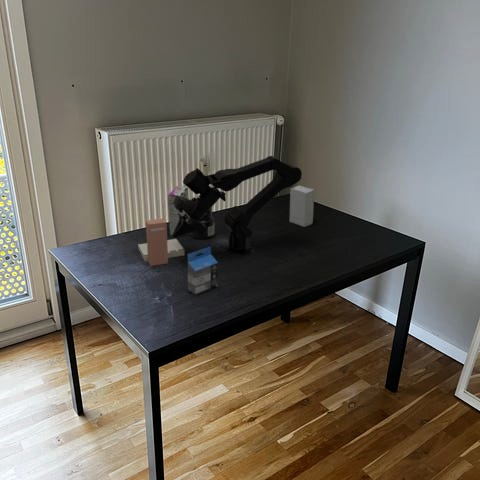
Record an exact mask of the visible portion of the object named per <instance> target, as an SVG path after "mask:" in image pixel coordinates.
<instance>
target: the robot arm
mask: <svg viewBox="0 0 480 480" xmlns="http://www.w3.org/2000/svg"><path fill="white" fill-rule="evenodd" d="M271 171H275V174H274V176H273V179H272V180H271V181H270V182H269V183H268V184H267V185H265V186H264V187H263V188H262V189H261V190H260V191H259V192H258V193H257V194H255V195H254V196H253V197H251V199H250V200H249V201H248V202H246V203H245V205H243V206H241V207H238V206H237V205H235V206H233V207H232V209H230V210H229V211H227V212H226V214H225V217H224V225H225V226H226V227H227V228H228V229H229V231H230V234H229V236H228V246H229V247H228V248H227V251H230V252H233V253H237V254H241V255H244V254H246V253H247V252H248V251H249V250H250V249H251V248H252V246H251V245H250V238H251V237H252V235H253V231H252V230H251V229H250V228H249V226H250V223H251V221H252V219H253V217H254V216H255V215H256V214H257V213H258V212H260V211H261V209H262V208H264V207H265V206H266V205H268V203H270V202H271V200H273V199H274V198H275V197H276V196H277V195H279V193H280V192H282V191H283V190H284V189H288V188H291V187H293V186H294V185H296V184H297V183H299V182H300V181H301V179H302V175H303V173H302V170H301V168H299V167H297V166H296V165H294V164H292V163H290V162H283V161H281V160H280V159H279V158H277V157H276V156H274V155H269V156H266V157H265V158H263V159H260V160H257V161H254V162H251V163H249V164H247V165H246V164H245V165H243V166H240V167H237V168H226V169H225V168H224V169H220V170H217V171H216V172H215V173H213V174H208V175H205V174H204V173H203V172H202V171H201V169H200V168H198V167H197V168H195V169H194V170H191V171H190V172H189V173H187V174H186V175H185V176H184V178H183V181H182V183H183V185H184V186H185V187H188V190H190V191H192V192H193V193H194V194H195V195H198V196H197V197H191V199H187V198H184V197H181V196H178V195H176V198H175V200H174V202H173V204H174V205H175V206H174V207H175V208H176V209H177V210H179V211H180V212H181V214H179V213H178V216H179V221H178V224H177V226H176V228H175V230H174V232H173V234H172V235H171V237H173V239H177V238H178V237H182V236H184V235H186V234H188V233H191V231H197V232H199V233H200V234H201V235H202V236H203V235H204V234H205V233H206V232H207V228H206V227H205V225H204V224H203V223H201V222H202V220H201V218H202V217H203V216H204V215H205V214H206V213H208V214H209V213H210V211H209V210H210V207H212V208H213V206H215V204H216V203H218V201H219V199H221V200H222V202H226V200H227V199H226V192H230V191H232V190H234V189H235V188H237V187H239V186H240V184H242V182H245V181H247V180H249V179H252V178H254V177H258V176H260V175H264V174H265V173H268V172H271ZM210 185H211V186H210ZM219 189H220V190H222V191H220V190H219ZM209 206H210V207H209ZM181 235H182V236H181Z"/></svg>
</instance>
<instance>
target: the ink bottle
mask: <svg viewBox="0 0 480 480" xmlns="http://www.w3.org/2000/svg"><path fill="white" fill-rule="evenodd" d="M209 207H210V206H209ZM209 211H210V213H209V214H208V213H206V214H205V215H204V216H203V217H202V218H201V220H202V222H201V223H203V224H204V225H205V227H206V228H207V232H206V233H205V234H204V235H203V236H202V235H201V234H200V233H199V232H197V231H191V232H190V234H191V236H192V237H193V238H195V239H199V240H206V239H212V238H213V237H214V236H215V218H214V217H213V215H212V213H213V206H212V207H210V210H209Z"/></svg>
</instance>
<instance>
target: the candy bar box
mask: <svg viewBox="0 0 480 480" xmlns="http://www.w3.org/2000/svg"><path fill="white" fill-rule="evenodd" d="M189 192H190V191H189V188H188V187H187V186H185V185H184V186H181V185H176V186H175V188H174V189H173V190H171V192H169V193H168V195H167V204H168V205H167V207H168V221H169V223H168V225H169V235H170V236H172V234H173V232H174V230H175V228H176V226H177V224H178V221H179V216H178V213H179V214H181V212H180V211H179V210H177V209H176V208H175V207H174V206H175V205H174V204H173V202H174V200H175V198H176V195H178V196H181V197H184V198H187V199H189V198H190V197H189V196H190V195H189ZM189 200H190V199H189ZM182 236H183V235H181V236H180V237H182Z"/></svg>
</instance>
